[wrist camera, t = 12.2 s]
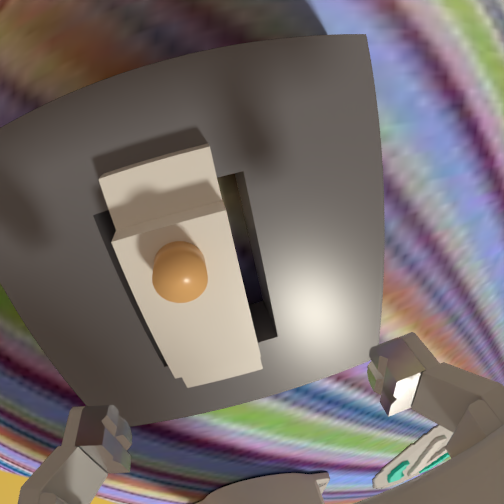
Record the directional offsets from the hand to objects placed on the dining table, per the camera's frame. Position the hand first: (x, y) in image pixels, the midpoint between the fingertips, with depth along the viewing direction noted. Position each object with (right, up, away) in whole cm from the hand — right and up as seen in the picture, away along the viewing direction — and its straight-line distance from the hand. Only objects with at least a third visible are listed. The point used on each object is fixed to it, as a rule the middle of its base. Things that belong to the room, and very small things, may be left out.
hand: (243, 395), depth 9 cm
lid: (+35, -31, +36) cm, 59 cm away
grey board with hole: (-3, +4, +7) cm, 9 cm away
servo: (-3, +4, +7) cm, 9 cm away
